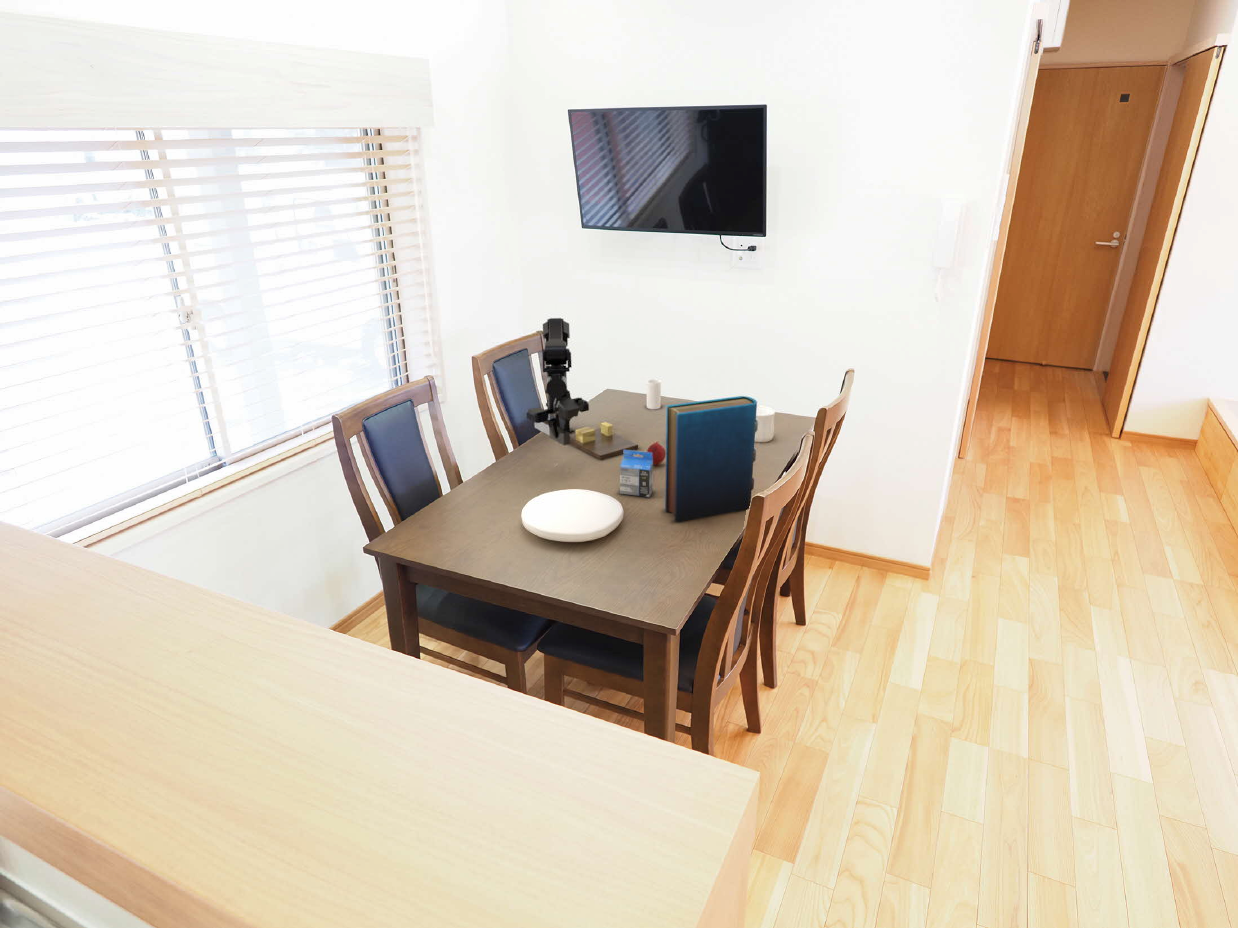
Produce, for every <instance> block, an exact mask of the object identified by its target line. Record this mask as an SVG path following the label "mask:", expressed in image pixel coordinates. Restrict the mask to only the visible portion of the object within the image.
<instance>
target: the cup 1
mask: <svg viewBox="0 0 1238 928" xmlns="http://www.w3.org/2000/svg"><path fill="white" fill-rule="evenodd" d="M661 387H662V381H661V379H657V378H651V379H647V380H646V408H647V409H648V410H659V409H661V403H662V402H661V400H662V399H661V397H662V395H661V394H662V393H661V391H662V389H661Z"/></svg>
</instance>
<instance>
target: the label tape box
mask: <svg viewBox="0 0 1238 928" xmlns="http://www.w3.org/2000/svg"><path fill="white" fill-rule="evenodd" d="M622 454H623V457H622V460H621V462H620V465H619V494H620V495H628V496H629V495H630V496H638V497H645V498H650V497H651V495H652V493H653V488H654V487H653V485H654V484H653V481H654V479H653V478H654V477H653V476H654V475H653V474H654V473H653V472H654V471H653V470H654V464H653V458H652V453H650V452H647V451H641V450H633V451H632V450H623V453H622ZM637 455H638V456H637Z"/></svg>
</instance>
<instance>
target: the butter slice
mask: <svg viewBox="0 0 1238 928" xmlns="http://www.w3.org/2000/svg"><path fill="white" fill-rule="evenodd" d="M613 427H614V426H613V424H611V423H609V422H607V421H603V422H601V423H600V428H601V433H602V434H604V435H606V436H611V435H613V433H614V429H613Z"/></svg>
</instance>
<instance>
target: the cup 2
mask: <svg viewBox="0 0 1238 928" xmlns="http://www.w3.org/2000/svg"><path fill="white" fill-rule="evenodd" d="M775 415H776V411H775V410H774V409H773V408H771V407H768V406H766V405H757V410H756V420H757V421H758V428H757V431H756V432H755V443H767V442H770V441H772V440H773V438H774V435H775Z"/></svg>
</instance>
